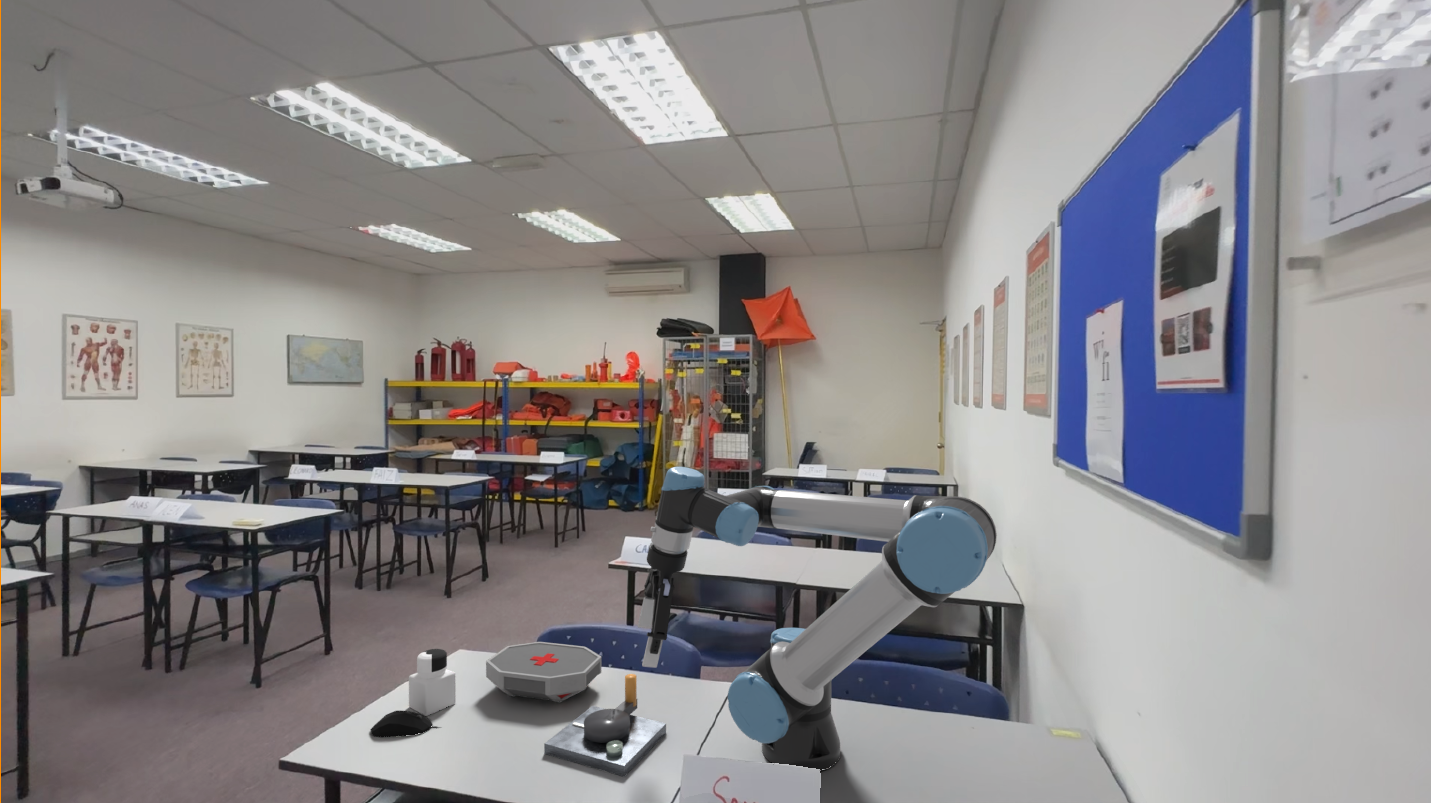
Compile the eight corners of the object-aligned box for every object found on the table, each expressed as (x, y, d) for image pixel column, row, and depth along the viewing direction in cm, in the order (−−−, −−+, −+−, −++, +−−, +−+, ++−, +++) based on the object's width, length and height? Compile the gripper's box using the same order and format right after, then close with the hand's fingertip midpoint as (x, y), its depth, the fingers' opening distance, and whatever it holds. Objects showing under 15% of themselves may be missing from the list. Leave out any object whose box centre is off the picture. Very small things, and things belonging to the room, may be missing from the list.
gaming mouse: (440, 737, 128) (439, 718, 128) (364, 740, 127) (364, 720, 127) (451, 721, 134) (451, 703, 134) (379, 724, 133) (379, 705, 133)
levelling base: (666, 732, 129) (666, 716, 129) (624, 776, 114) (624, 758, 114) (592, 714, 136) (592, 699, 136) (544, 753, 121) (544, 736, 121)
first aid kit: (474, 701, 142) (575, 715, 136) (474, 668, 142) (575, 681, 136) (517, 668, 159) (609, 679, 153) (517, 639, 159) (609, 649, 153)
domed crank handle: (613, 746, 119) (613, 710, 119) (574, 736, 123) (574, 700, 123) (652, 710, 133) (652, 677, 132) (615, 702, 136) (615, 670, 136)
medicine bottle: (438, 694, 145) (438, 643, 145) (456, 703, 141) (455, 650, 141) (408, 707, 139) (407, 653, 139) (425, 717, 135) (425, 661, 135)
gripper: (645, 519, 133) (625, 611, 136) (656, 572, 109) (631, 682, 112) (679, 524, 135) (659, 615, 138) (697, 578, 111) (672, 686, 114)
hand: (646, 645), depth 125 cm, fingers open, 13 cm apart
